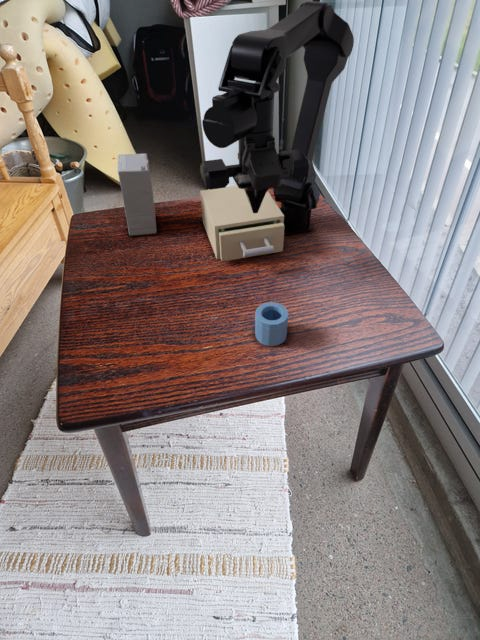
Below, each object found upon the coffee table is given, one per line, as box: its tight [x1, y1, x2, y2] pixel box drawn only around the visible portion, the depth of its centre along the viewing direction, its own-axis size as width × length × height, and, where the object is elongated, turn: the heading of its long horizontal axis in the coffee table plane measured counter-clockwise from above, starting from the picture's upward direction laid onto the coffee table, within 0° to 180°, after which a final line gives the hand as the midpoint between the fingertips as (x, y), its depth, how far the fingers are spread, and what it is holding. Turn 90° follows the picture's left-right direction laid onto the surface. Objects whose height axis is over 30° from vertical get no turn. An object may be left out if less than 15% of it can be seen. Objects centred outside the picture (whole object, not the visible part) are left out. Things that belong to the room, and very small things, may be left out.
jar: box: [254, 301, 289, 347], centre depth 71 cm, size 5×6×5 cm
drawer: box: [219, 220, 285, 262], centre depth 89 cm, size 19×13×6 cm
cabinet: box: [199, 185, 284, 260], centre depth 93 cm, size 16×15×8 cm
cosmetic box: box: [117, 153, 157, 237], centre depth 94 cm, size 8×7×16 cm
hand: (254, 212), depth 80 cm, fingers closed
